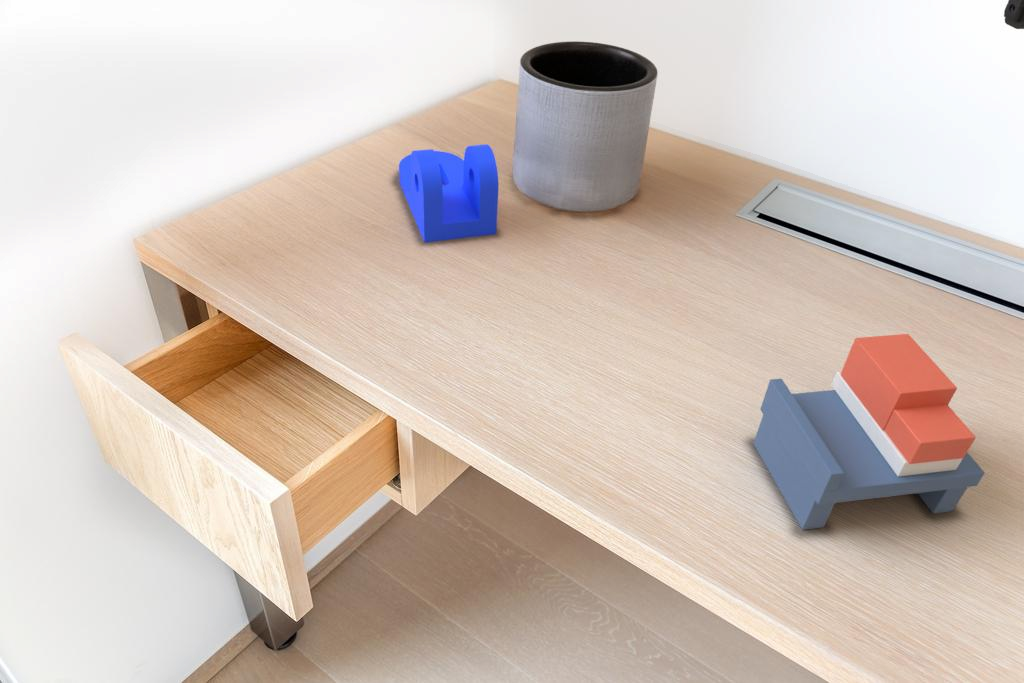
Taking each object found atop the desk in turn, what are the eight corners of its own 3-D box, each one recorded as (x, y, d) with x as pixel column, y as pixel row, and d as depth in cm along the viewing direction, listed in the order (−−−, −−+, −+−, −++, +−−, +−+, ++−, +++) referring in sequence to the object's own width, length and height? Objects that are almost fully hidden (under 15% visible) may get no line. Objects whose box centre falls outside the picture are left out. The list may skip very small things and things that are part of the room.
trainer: (830, 385, 65) (851, 334, 62) (883, 380, 66) (906, 330, 63) (899, 479, 57) (927, 427, 54) (957, 472, 58) (988, 420, 55)
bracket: (496, 234, 90) (499, 161, 85) (424, 242, 88) (423, 168, 83) (457, 163, 104) (457, 96, 98) (393, 169, 101) (390, 100, 96)
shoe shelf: (888, 425, 69) (917, 366, 65) (958, 516, 62) (996, 456, 57) (749, 439, 67) (769, 379, 63) (803, 535, 59) (831, 474, 55)
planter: (504, 157, 106) (510, 38, 96) (622, 157, 108) (640, 40, 98) (520, 219, 93) (528, 89, 83) (652, 217, 95) (676, 90, 85)
